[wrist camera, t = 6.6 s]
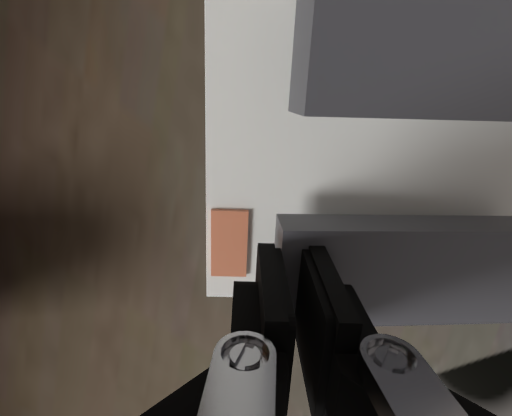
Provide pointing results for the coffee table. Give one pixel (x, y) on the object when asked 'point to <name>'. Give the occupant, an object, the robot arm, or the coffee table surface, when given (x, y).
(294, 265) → the block
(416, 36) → the rocker middle
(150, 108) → the coffee table surface
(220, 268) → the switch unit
